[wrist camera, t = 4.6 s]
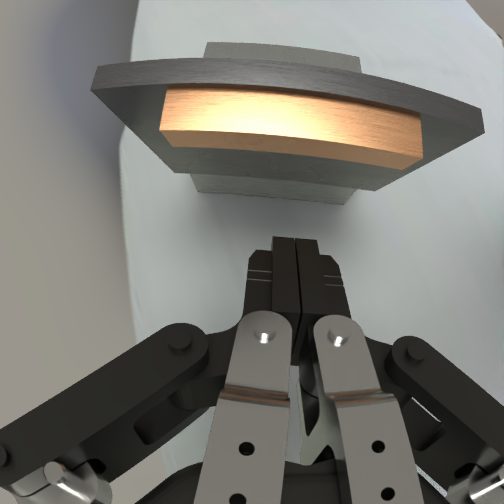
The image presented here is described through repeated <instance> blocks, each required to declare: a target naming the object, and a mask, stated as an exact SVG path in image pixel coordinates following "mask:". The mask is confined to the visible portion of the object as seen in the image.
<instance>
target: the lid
mask: <svg viewBox="0 0 504 504" xmlns="http://www.w3.org/2000/svg"><path fill="white" fill-rule="evenodd" d="M91 91H92V92H93V93H94V94H95V95H96V96H97V97H98V98H99V99H100V100H101V101H102V102H103V103H104V104H105V105H106V106H107V107H108V108H109V109H110V110H111V111H112V112H113V113H114V114H115V115H116V116H117V117H118V118H119V119H120V120H121V121H122V122H123V123H124V124H125V125H126V126H127V127H128V128H130V129H131V130H132V131H133V132H134V133H135V134H136V135H137V136H138V137H139V138H140V139H141V140H142V141H143V142H144V143H145V144H146V145H147V146H148V147H149V148H150V149H151V150H152V151H153V152H154V153H155V154H156V155H157V156H158V157H159V158H160V159H161V160H162V161H163V162H164V163H165V164H166V165H167V166H168V167H169V168H170V169H171V170H172V171H173V172H174V173H188V174H208V175H224V176H239V177H252V178H264V179H276V180H286V181H296V182H306V183H315V184H323V185H332V186H340V187H347V188H355V189H362V190H369V191H376V190H378V189H380V188H382V187H384V186H386V185H388V184H390V183H391V182H393V181H395V180H397V179H399V178H401V177H403V176H405V175H407V174H408V173H410V172H412V171H414V170H416V169H418V168H420V167H422V166H424V165H425V164H427V163H429V162H431V161H433V160H435V159H437V158H439V157H441V156H442V155H444V154H446V153H448V152H450V151H452V150H454V149H456V148H458V147H459V146H461V145H463V144H465V143H467V142H469V141H471V140H473V139H474V138H476V137H478V136H480V135H482V134H484V133H485V131H484V124H483V118H482V112H481V109H480V108H477V107H475V106H472V105H469V104H467V103H464V102H461V101H459V100H456V99H453V98H450V97H447V96H444V95H441V94H438V93H435V92H432V91H429V90H425V89H422V88H419V87H415V86H412V85H408V84H404V83H401V82H397V81H393V80H389V79H385V78H381V77H376V76H372V75H367V74H362V73H357V72H352V71H347V70H341V69H336V68H330V67H323V66H316V65H309V64H301V63H293V62H283V61H272V60H259V59H240V58H178V59H160V60H146V61H135V62H127V63H118V64H110V65H104V66H98V67H97V70H96V73H95V77H94V79H93V83H92V86H91Z"/></svg>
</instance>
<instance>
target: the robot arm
mask: <svg viewBox="0 0 504 504" xmlns="http://www.w3.org/2000/svg"><path fill="white" fill-rule="evenodd" d="M290 365H294V366H299V378H298V381H297V386H296V388H297V397H298V406H299V414H300V423H301V432H302V448H301V457H300V463H301V465H300V464H296V463H292V462H288V461H285V456H286V446H287V435H288V424H289V412H290V398H288V385H289V372H290ZM412 397H413V398H414V399H416V400H417V401H418V402H419V403H420V404H421V405H422V406H424V407H425V408H426V409H427V410H428V411H429V412H430V413H432V414H433V415H434V416H435V417H436V418H437V419H438V420H439V421H441V422H439V421H437V420H435V419H434V418H433V417H432V416H431V415H430V414H429V413H427V412H426V411H425V410H424V409H423V408H422V407H421V406H420V405H418V404H417V403H416V402H415V401H414V400H413V399H412ZM212 406H216V410H215V414H214V418H213V422H212V427H211V431H210V435H209V440H208V444H207V448H206V452H205V457H204V461H203V462H200V463H196V464H193V465H190V466H187V467H185V468H183V469H181V470H179V471H177V472H176V473H174V474H172V475H171V476H169V477H168V478H167V479H165V480H164V481H163V482H162V483H160V484H159V485H158V486H157V487H155V488H154V489H153V490H152V491H150V492H149V493H148V494H146V495H145V496H144V497H143V498H142V499H140V500H139V501H137V502H136V503H135V504H504V406H502V405H501V404H500V403H499V402H498V401H497V400H495V399H494V398H493V397H492V396H491V395H490V394H488V393H487V392H486V391H485V390H484V389H482V388H481V387H480V386H479V385H478V384H477V383H475V382H474V381H473V380H472V379H471V378H469V377H468V376H467V375H466V374H465V373H463V372H462V371H461V370H460V369H459V368H457V367H456V366H455V365H454V364H453V363H451V362H450V361H449V360H448V359H446V358H445V357H444V356H443V355H442V354H440V353H439V352H438V351H437V350H435V349H434V348H433V347H432V346H430V345H429V344H428V343H427V342H425V341H424V340H422V339H420V338H418V337H414V336H404V337H401V338H399V339H397V340H396V341H395V342H394V344H393V345H389V344H386V343H382V342H378V341H375V340H372V339H370V338H368V337H366V336H364V333H363V331H362V329H361V327H360V326H359V325H358V324H357V323H356V322H355V321H353V320H352V319H351V315H350V310H349V306H348V302H347V297H346V293H345V289H344V287H343V281H342V278H341V273H340V269H339V265H338V264H337V263H336V262H335V260H334V259H333V258H332V257H331V256H330V255H320V254H319V249H318V244H317V240H311V239H300V238H295V240H294V238H287V237H275V236H273V238H272V245H271V251H267V250H256V251H255V252H254V253H253V254H252V255H251V257H250V258H249V264H248V273H247V282H246V291H245V300H244V309H243V315H242V318H241V320H240V321H239V322H238V323H237V324H236V325H235V326H234V327H232V328H231V329H229V330H226V331H223V332H219V333H213V334H207V335H205V333H204V332H203V331H202V330H201V329H200V328H198V327H197V326H194V325H192V324H188V323H175V324H171V325H168V326H166V327H164V328H162V329H161V330H159V331H157V332H156V333H154V334H153V335H151V336H150V337H148V338H146V339H145V340H143V341H142V342H140V343H139V344H137V345H135V346H134V347H132V348H131V349H129V350H128V351H126V352H125V353H123V354H121V355H120V356H118V357H117V358H115V359H114V360H112V361H110V362H109V363H107V364H105V365H104V366H102V367H101V368H99V369H98V370H96V371H94V372H93V373H91V374H89V375H88V376H87V377H85V378H83V379H81V380H80V381H78V382H77V383H75V384H73V385H72V386H70V387H69V388H67V389H65V390H64V391H62V392H61V393H59V394H57V395H56V396H54V397H53V398H51V399H49V400H48V401H46V402H44V403H43V404H41V405H39V406H38V407H36V408H35V409H33V410H32V411H30V412H28V413H26V414H25V415H23V416H22V417H20V418H18V419H17V420H15V421H13V422H12V423H10V424H8V425H7V426H5V427H3V428H2V429H0V487H2V488H4V489H5V490H7V491H9V492H10V493H11V494H12V495H13V496H14V497H15V499H16V501H17V502H18V504H111V502H112V489H111V486H110V485H109V483H110V482H112V481H113V480H115V479H116V478H118V477H119V476H120V475H122V474H123V473H125V472H126V471H128V470H129V469H131V468H132V467H134V466H135V465H136V464H138V463H139V462H140V461H142V460H143V459H145V458H146V457H147V456H149V455H150V454H152V453H153V452H154V451H156V450H157V449H158V448H160V447H161V446H162V445H164V444H165V443H166V442H168V441H169V440H170V439H172V438H173V437H174V436H176V435H177V434H178V433H180V432H181V431H182V430H183V429H185V428H186V427H187V426H188V425H190V424H191V423H192V422H194V421H195V420H196V419H197V418H199V417H200V416H201V415H202V414H203V413H205V412H206V411H207V410H208V409H209V407H212ZM415 464H416V465H417V466H419V467H420V468H421V469H422V470H423V471H424V472H425V473H426V474H428V475H429V476H430V477H431V478H432V479H433V480H434V481H435V482H437V483H438V484H439V485H440V486H441V487H442V488H443V489H445V490H446V491H447V496H446V497H444V496H442V495H441V494H440V493H439V492H438V491H437V490H436V489H435V488H434V487H433V486H432V485H431V484H430V483H429V482H428V481H427V480H426V479H425V478H424V477H423V476H421V475H420V474H419V473H418V472H417V470H416V465H415Z"/></svg>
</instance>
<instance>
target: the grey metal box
mask: <svg viewBox="0 0 504 504" xmlns="http://www.w3.org/2000/svg"><path fill="white" fill-rule="evenodd" d="M203 58H240V59H259V60H272V61H283V62H293V63H301V64H309V65H316V66H323V67H330V68H336V69H341V70H347V71H352V72H357V73H362V72H361V65H360V59H359V57H356V56H351V55H345V54H340V53H334V52H328V51H322V50H315V49H308V48H300V47H291V46H281V45H270V44H255V43H229V42H207V45H206V49H205V53H204V56H203ZM190 175H191V178H192V180H193V182H194V184H195V187H196V189H197V191H198V192H210V193H224V194H238V195H251V196H263V197H274V198H285V199H295V200H305V201H315V202H324V203H333V204H341V205H344V204H345V203H346V202H347V200H348V199H349V198H350V197H351V196H352V195H353V193H354V192H355V191H356V190H357V189H355V188H347V187H340V186H332V185H323V184H315V183H306V182H296V181H286V180H276V179H264V178H252V177H239V176H224V175H208V174H190Z"/></svg>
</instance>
